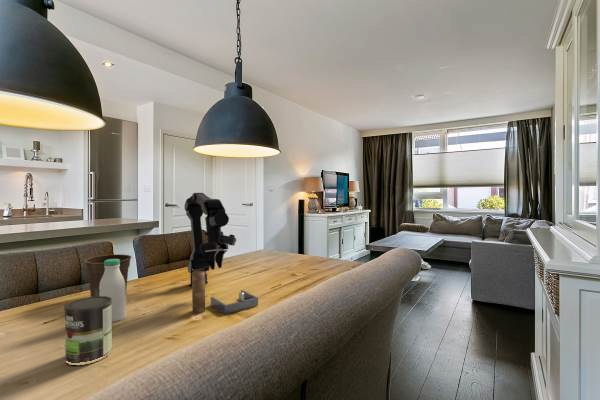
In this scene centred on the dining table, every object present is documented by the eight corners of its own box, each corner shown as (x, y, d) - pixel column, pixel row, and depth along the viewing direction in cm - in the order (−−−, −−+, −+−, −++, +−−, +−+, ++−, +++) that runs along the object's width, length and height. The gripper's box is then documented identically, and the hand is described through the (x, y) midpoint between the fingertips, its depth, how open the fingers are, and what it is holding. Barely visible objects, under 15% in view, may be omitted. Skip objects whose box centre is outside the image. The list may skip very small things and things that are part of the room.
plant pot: (138, 297, 128) (137, 257, 127) (91, 308, 116) (91, 264, 115) (124, 289, 139) (123, 252, 138) (80, 298, 127) (79, 258, 127)
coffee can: (83, 370, 75) (82, 311, 75) (55, 361, 79) (54, 306, 79) (121, 350, 85) (121, 298, 85) (95, 343, 89) (94, 294, 88)
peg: (189, 312, 111) (189, 273, 111) (196, 308, 115) (196, 270, 115) (201, 313, 110) (201, 274, 110) (207, 309, 115) (207, 271, 114)
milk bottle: (131, 315, 108) (130, 258, 108) (111, 324, 101) (110, 263, 101) (114, 313, 111) (113, 256, 110) (93, 321, 104) (92, 261, 103)
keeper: (210, 305, 119) (210, 289, 118) (242, 297, 127) (242, 282, 127) (225, 314, 109) (225, 297, 109) (258, 305, 118) (258, 290, 118)
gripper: (227, 225, 118) (230, 267, 115) (238, 228, 136) (241, 265, 134) (197, 229, 118) (200, 271, 116) (213, 231, 136) (216, 268, 134)
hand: (216, 268), depth 125 cm, fingers open, 9 cm apart
